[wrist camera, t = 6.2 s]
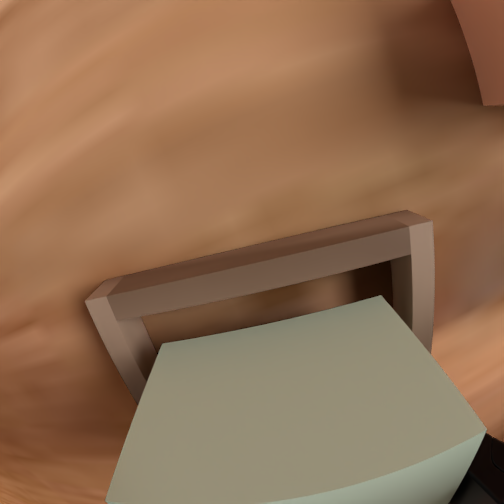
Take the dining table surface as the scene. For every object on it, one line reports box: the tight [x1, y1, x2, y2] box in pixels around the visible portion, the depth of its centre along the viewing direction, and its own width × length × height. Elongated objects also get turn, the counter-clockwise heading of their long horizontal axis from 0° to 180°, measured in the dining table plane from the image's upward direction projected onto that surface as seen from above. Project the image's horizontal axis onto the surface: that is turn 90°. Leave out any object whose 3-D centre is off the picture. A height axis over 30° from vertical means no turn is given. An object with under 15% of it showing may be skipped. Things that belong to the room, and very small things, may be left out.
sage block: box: [105, 295, 487, 504], centre depth 7 cm, size 6×6×5 cm
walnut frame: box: [85, 210, 435, 405], centre depth 10 cm, size 10×10×2 cm
